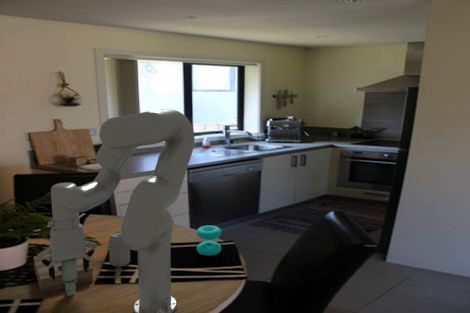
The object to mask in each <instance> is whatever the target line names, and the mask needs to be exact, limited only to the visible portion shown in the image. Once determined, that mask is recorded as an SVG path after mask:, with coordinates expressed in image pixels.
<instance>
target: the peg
mask: <svg viewBox="0 0 470 313" xmlns="http://www.w3.org/2000/svg"><path fill="white" fill-rule="evenodd" d="M61 265H62V281H63V283H64V284H65V288H64V289H65V294H66V296H67V297H72V296H75V295H76V290H77V289H76V288H77V287H76V286H77V285H76V284H75V282H77V280H78V276H77V261H76V258H75V259H70V260H65V261H61Z"/></svg>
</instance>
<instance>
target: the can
mask: <svg viewBox="0 0 470 313" xmlns="http://www.w3.org/2000/svg"><path fill="white" fill-rule="evenodd" d="M108 251H109V252H108V253H109V255H108V256H109V264H110V265H111V266H113V267H116V268H122V267H125V266H127V265H128V264H129V263H130V262H131V249H129V248H128V247H127V246H126V245H125V244H124V242H123V240H122V236H121V230H120V231H119V230H117V231H113V232H111V233H110V236H109V237H108Z"/></svg>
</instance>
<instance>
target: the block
mask: <svg viewBox="0 0 470 313" xmlns="http://www.w3.org/2000/svg"><path fill="white" fill-rule="evenodd" d="M32 258H33V267H34V268H33V269H35V270H34V274H35V276H37V277H36V279H37V284H38V286H39V290H40V293H41V295H43V294H46V293H50V292H55V291H59V290H62V289H65V284H64V283H63V281H62V265H61V261H60V262H55V264H54V269H55V279H54V280H53V279H52V277H51V276H50V277H49V268H48V266H46V265H44V264H43V263H42V262H41V261H40V259H39V258H38V256H37V255H35V256H33V257H32ZM44 258H45V259H47V260H48V261H49V259H50V258H51V255H50V253H48V254H47V255H45V256H44ZM76 261H77V276H78V280H77V282H75V284H76V286H79V285H84V284H87V283H88V284H89V283H91V282H94V276H93V275H94V274H93V272H94V271H93V266H92V265H91V262H89V268H87V269H88V272H85V271H84V269H83V257H79V258H76Z"/></svg>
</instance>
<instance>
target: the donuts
mask: <svg viewBox="0 0 470 313" xmlns="http://www.w3.org/2000/svg"><path fill="white" fill-rule="evenodd" d="M221 234H222V229H221V228H220V227H218V226H216V225H203V226H200V227H198V228H197V229H196V235H197V237H199V238H200V239H202V240H205V241H202V242H200V243H198V244H197V246H196V251H197V253H198V254H199V255H202V256H204V255H205V257H212V256H216V255H218V254H220V252H221V251H222V246H221V245H220V243H219V242H217V241H214V240H216V239H218V238H219V237H221ZM212 240H213V241H212Z"/></svg>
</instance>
